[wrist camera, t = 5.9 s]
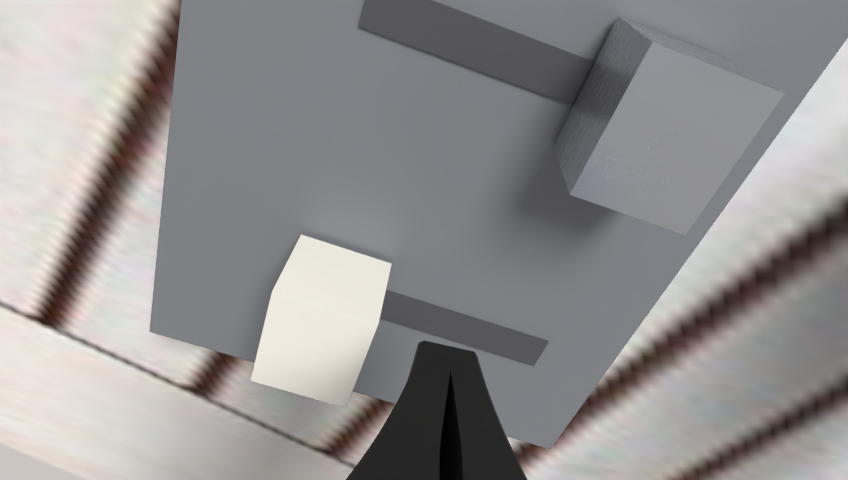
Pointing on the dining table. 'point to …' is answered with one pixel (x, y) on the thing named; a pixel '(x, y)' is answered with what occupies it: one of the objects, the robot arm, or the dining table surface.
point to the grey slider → (659, 126)
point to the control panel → (437, 176)
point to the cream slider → (321, 321)
